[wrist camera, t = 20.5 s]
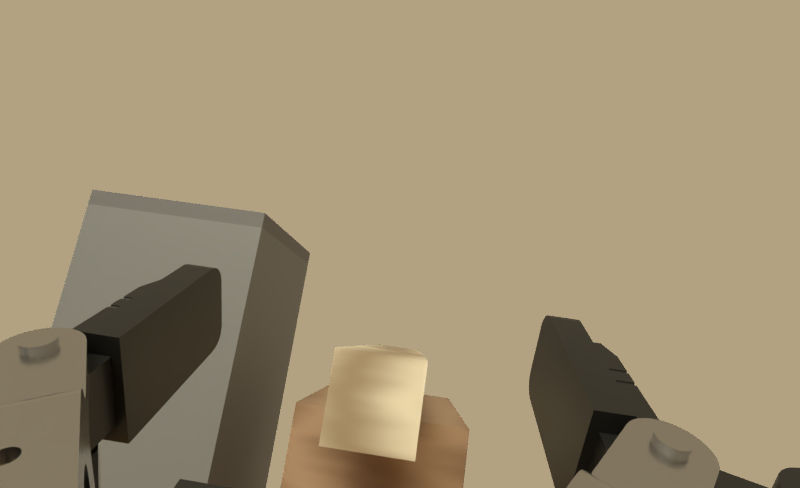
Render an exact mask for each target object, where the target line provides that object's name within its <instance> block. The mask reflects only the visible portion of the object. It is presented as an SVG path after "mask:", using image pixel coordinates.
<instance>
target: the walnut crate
mask: <svg viewBox="0 0 800 488" xmlns="http://www.w3.org/2000/svg"><path fill="white" fill-rule="evenodd" d="M328 388H329V385H328V386H326V387H325V388H323V389H321V390H319V391H317V392H315V393H313V394H311V395H309V396H307V397H305V398H304V399H302V400H300V401H298V402H297V403H296V406H295V411H294V417H293V422H292V428H291V434H290V439H289V444H288V450H287V455H286V461H285V466H284V472H283V477H282V483H281V488H463V483H464V474H465V465H466V455H467V445H468V437H469V428H468V427H467V425H466V424H465V423H464V421H463V420H462V418H461V417H460V415H459V414H458V412H457V411H456V409H455V408H454V406H453V405H452V403H451V402H450V401H449V399H448V398H441V397H435V396H428V395H424V396H423V404H422V412H421V420H420V427H419V435H418V443H417V451H416V459H415V461H408V460H402V459H396V458H390V457H384V456H377V455H371V454H365V453H359V452H353V451H347V450H340V449H334V448H328V447H322V446H319V441H320V435H321V429H322V423H323V417H324V411H325V405H326V400H327V394H328Z"/></svg>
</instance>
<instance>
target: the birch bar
mask: <svg viewBox="0 0 800 488" xmlns="http://www.w3.org/2000/svg"><path fill="white" fill-rule="evenodd" d="M427 365H428V361H427V359H426V358H425V357H424V356H423V355H422V354H421V353H420V352H419V351H418V350H412V349H405V348H398V347H391V346H385V345H363V346H348V347H336V348H335V353H334V358H333V365H332V370H331V376H330V382H329V388H328V394H327V400H326V405H325V411H324V417H323V423H322V429H321V435H320V441H319V446H322V447H328V448H334V449H340V450H347V451H353V452H359V453H365V454H371V455H377V456H384V457H390V458H396V459H402V460H408V461H415V459H416V451H417V443H418V435H419V427H420V420H421V412H422V404H423V396H424V388H425V380H426V373H427Z"/></svg>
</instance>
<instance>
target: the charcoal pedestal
mask: <svg viewBox="0 0 800 488" xmlns="http://www.w3.org/2000/svg"><path fill="white" fill-rule="evenodd" d="M309 254H310V253H309V252H308V251H307V250H306V249H305V248H303V247H302V246H301V245H300V244H299V243H298V242H297V241H296V240H294V239H293V238H292V237H291V236H290V235H289V234H287V232H285V231H284V230H283V229H282V228H281V227H280V226H279V225H278V224H276V223H275V222H274V221H273V220H272V219H271V218H270V217H268V216H267V215H266V214H265V213H259V212H251V211H244V210H237V209H230V208H222V207H215V206H208V205H200V204H193V203H186V202H178V201H171V200H163V199H156V198H148V197H142V196H134V195H127V194H119V193H112V192H105V191H97V190H92V193H91V196H90V200H89V203H88V207H87V210H86V213H85V217H84V220H83V223H82V227H81V230H80V234H79V237H78V240H77V244H76V247H75V251H74V254H73V257H72V261H71V264H70V268H69V271H68V274H67V278H66V281H65V284H64V288H63V291H62V295H61V298H60V301H59V305H58V308H57V311H56V315H55V318H54V322H53V325H52V328H70V329H73V328H74V327H76V326H77V325H79V324H81V323H82V322H84V321H85V320H87V319H89V318H90V317H92V316H93V315H95V314H97V313H98V312H100V311H101V310H103V309H105V308H106V307H110V306H111V304H113V303H114V302H116V301H117V300H119V299H123V298H124V296H125V295H127V294H129V293H130V292H132V291H133V290H135V289H137V288H138V287H140V286H143V285H146V284H149V283H152V282H155V281H158V280H161V279H163V278H164V277H166V276H167V275H169V274H171V273H172V272H174V271H175V270H177V269H178V268H180V267H181V266H183V265H185V264H192V265H198V266H205V267H212V268H217V269H218V270H219V271H220V274H221V281H222V329H221V335H220V338H219V341H218V344H217V346H216V348H215V349H214V350H213V352H212V353H211V354H210V355H209V356H208V357H207V358H206V359H205V360H204V362H203V363H202V364H201V365H200V366H199V367H198V368H197V369H196V370H195V371H194V373H193V374H192V375H191V376H190V377H189V378H188V379H187V380H186V381H185V382H184V384H183V385H182V386H181V387H180V388H179V389H178V390H177V391H176V392H175V393H174V395H173V396H172V397H171V398H170V399H169V400H168V401H167V402H166V403H165V405H164V406H163V407H162V408H161V409H160V410H159V411H158V412H157V413H156V414H155V416H154V417H153V418H152V419H151V420H150V421H149V422H148V423H147V424H146V425H145V427H144V428H143V429H142V430H141V431H140V432H139V433H138V434H137V435H136V436H135V438H134V439H133V440H132V441H131V442H130V443H129V444H127V443H121V442H115V441H109V440H103V439H102V440H101V441H100V442H99V452H100V469H101V488H174V487H175V485H176V484H177V482H178V481H179V480H180V479H184V480H190V481H196V482H202V483H208V484H213V485H219V486H225V487H231V488H266V483H267V477H268V472H269V467H270V462H271V456H272V451H273V445H274V440H275V435H276V430H277V424H278V419H279V414H280V409H281V403H282V398H283V393H284V387H285V382H286V377H287V371H288V366H289V361H290V356H291V350H292V345H293V339H294V334H295V329H296V324H297V318H298V313H299V307H300V302H301V297H302V292H303V286H304V281H305V276H306V271H307V265H308V260H309Z"/></svg>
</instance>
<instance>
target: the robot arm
mask: <svg viewBox="0 0 800 488" xmlns="http://www.w3.org/2000/svg"><path fill="white" fill-rule="evenodd" d="M221 329H222V281H221V274H220V271H219V270H218V269H217V268H212V267H205V266H198V265H192V264H185V265H183V266H181V267H180V268H178V269H177V270H175V271H174V272H172V273H171V274H169V275H167V276H166V277H164V278H163V279H161V280H158V281H155V282H152V283H149V284H146V285H143V286H140V287H138V288H137V289H135V290H133V291H132V292H130V293H129V294H127V295H125V296H124V298H123V299H119V300H117V301H116V302H114V303H113V304H111V306H110V307H106V308H105V309H103V310H101V311H100V312H98V313H97V314H95V315H93V316H92V317H90V318H89V319H87V320H85V321H84V322H82V323H81V324H79V325H77V326H76V327H74V328H73V329H70V328H46V329H38V330H33V331H29V332H25V333H22V334H18V335H16V336H13V337H11V338H9V339H6V340H4V341H2V342H1V343H0V488H101V469H100V452H99V442H100V441H101V440H102V439H103V440H109V441H115V442H121V443H127V444H129V443H130V442H131V441H132V440H133V439H134V438H135V436H136V435H137V434H138V433H139V432H140V431H141V430H142V429H143V428H144V427H145V425H146V424H147V423H148V422H149V421H150V420H151V419H152V418H153V417H154V416H155V414H156V413H157V412H158V411H159V410H160V409H161V408H162V407H163V406H164V405H165V403H166V402H167V401H168V400H169V399H170V398H171V397H172V396H173V395H174V393H175V392H176V391H177V390H178V389H179V388H180V387H181V386H182V385H183V384H184V382H185V381H186V380H187V379H188V378H189V377H190V376H191V375H192V374H193V373H194V371H195V370H196V369H197V368H198V367H199V366H200V365H201V364H202V363H203V362H204V360H205V359H206V358H207V357H208V356H209V355H210V354H211V353H212V352H213V350H214V349H215V348H216V346H217V344H218V341H219V338H220V335H221ZM529 395H530V400H531V404H532V407H533V411H534V414H535V418H536V421H537V425H538V429H539V432H540V436H541V439H542V443H543V447H544V449H545V453H546V457H547V461H548V464H549V468H550V472H551V475H552V479H553V482H554V486H555V488H767V487H764V486H762V485H759V484H756V483H754V482H751V481H748V480H745V479H742V478H740V477H737V476H734V475H731V474H728V473H726V472H723V471H721V470H719V469H720V467H719V463H718V461H717V458H716V457H715V455H714V454H713V452H712V451H711V450H710V449H709V448H708V447H707V446H706V445H705V444H704V443H703V442H702V441H700V440H699V439H697V438H696V437H695V436H693V435H692V434H690V433H689V432H687V431H685V430H683V429H681V428H679V427H677V426H675V425H673V424H670V423H667V422H664V421H660V420H659V419H658V418H657V416H656V415H655V413H654V412H653V410H652V409H651V407H650V406H649V404H648V403H647V401H646V400H645V398H644V397H643V395H642V393H641V392H640V391H639V389H638V387H637V386H634V381H633V380H632V378H631V377H630V375H629V374H627V371H626V369H625V368H624V366H623V365H622V363H621V362H620V360H619V359H618V357H617V356H616V355H614V354H613V353H612V352H610V351H609V350H608V349H607V348H605V347H604V346H603V345H602V344H599V343H593V342H592V340H591V338H590V337H589V335H588V333H587V332H586V330H585V328H584V327H583V325H582V323H581V322H580V321H579V320H574V319H568V318H561V317H554V316H546V317H545V318H544V320H543V323H542V326H541V330H540V334H539V339H538V343H537V347H536V351H535V356H534V360H533V364H532V368H531V373H530V380H529ZM174 488H231V487H225V486H219V485H213V484H208V483H202V482H196V481H190V480H184V479H180V480H179V481H178V482H177V484H176V485H175V487H174ZM772 488H800V468H786V469H784V470H782V471H781V472H780V473H779V474H778V476H777V478H776V480H775V483H774V485H773V487H772Z"/></svg>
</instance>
